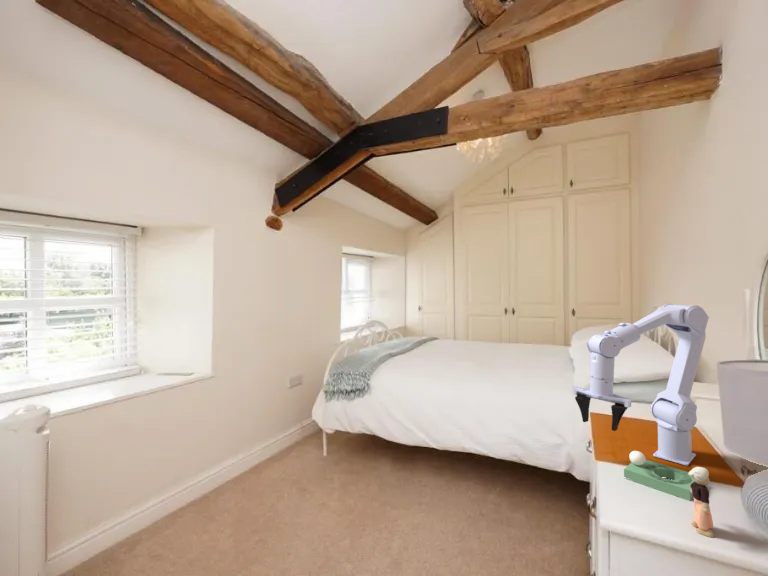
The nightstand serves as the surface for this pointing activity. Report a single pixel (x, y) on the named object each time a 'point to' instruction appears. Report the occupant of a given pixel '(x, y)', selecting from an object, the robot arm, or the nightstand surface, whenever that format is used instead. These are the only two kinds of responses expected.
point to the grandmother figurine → (701, 501)
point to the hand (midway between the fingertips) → (599, 425)
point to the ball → (637, 458)
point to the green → (653, 475)
